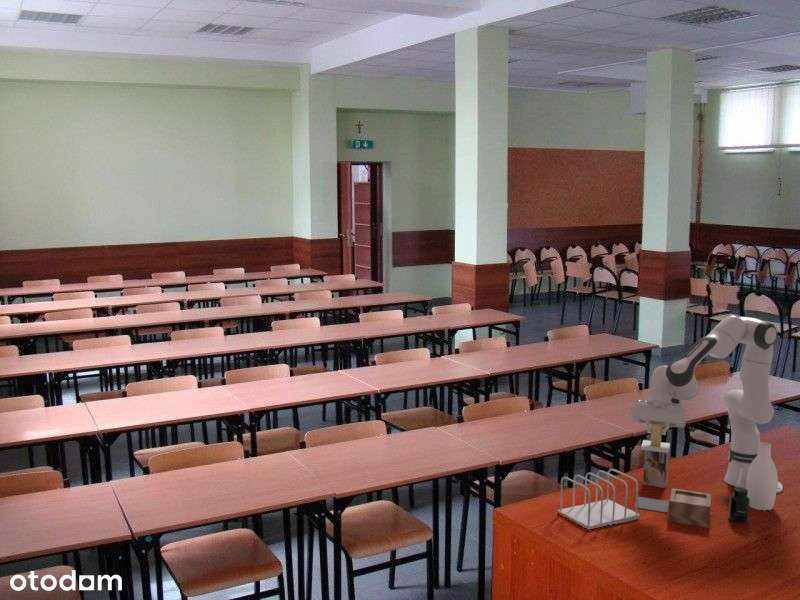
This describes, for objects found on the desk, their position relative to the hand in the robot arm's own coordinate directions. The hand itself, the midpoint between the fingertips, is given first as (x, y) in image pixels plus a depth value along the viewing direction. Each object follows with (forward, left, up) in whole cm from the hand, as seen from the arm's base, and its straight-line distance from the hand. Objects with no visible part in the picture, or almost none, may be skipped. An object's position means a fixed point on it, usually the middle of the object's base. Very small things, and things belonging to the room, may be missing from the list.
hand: (656, 433), depth 297 cm
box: (-14, +6, -29) cm, 33 cm away
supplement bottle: (-31, 0, -29) cm, 43 cm away
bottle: (-39, -18, -29) cm, 52 cm away
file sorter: (+17, +20, -30) cm, 40 cm away
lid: (0, -1, -6) cm, 6 cm away
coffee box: (+1, -26, -29) cm, 39 cm away
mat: (0, -1, -29) cm, 29 cm away
